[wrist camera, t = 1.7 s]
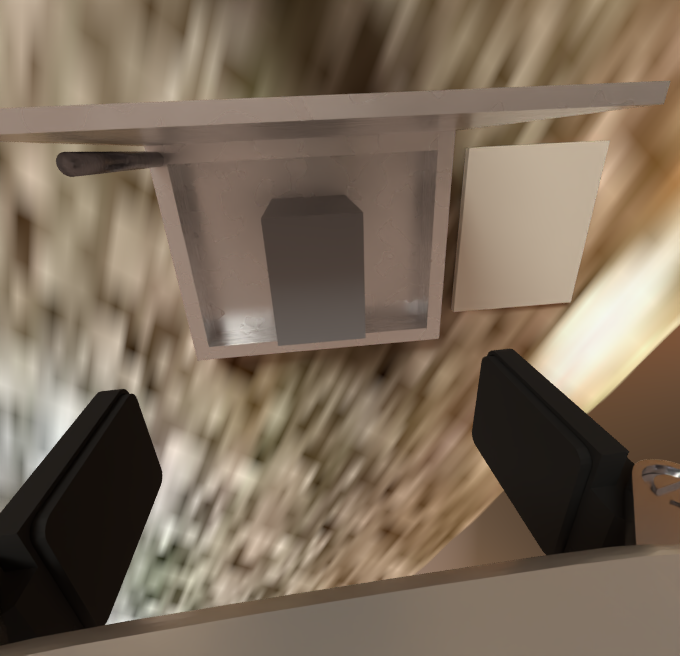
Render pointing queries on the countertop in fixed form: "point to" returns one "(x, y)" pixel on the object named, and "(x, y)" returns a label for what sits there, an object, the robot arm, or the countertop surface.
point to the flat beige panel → (524, 223)
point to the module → (315, 268)
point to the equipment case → (303, 188)
